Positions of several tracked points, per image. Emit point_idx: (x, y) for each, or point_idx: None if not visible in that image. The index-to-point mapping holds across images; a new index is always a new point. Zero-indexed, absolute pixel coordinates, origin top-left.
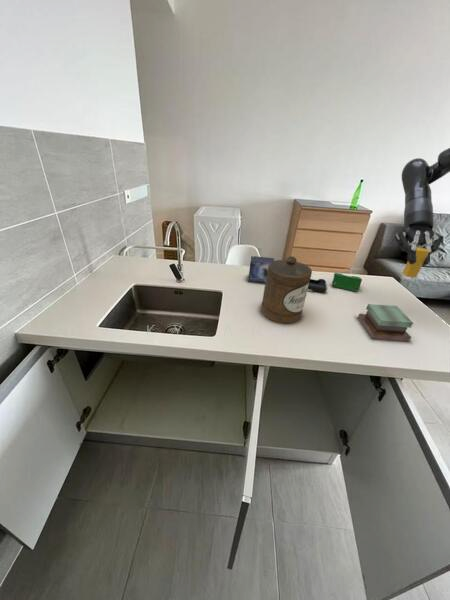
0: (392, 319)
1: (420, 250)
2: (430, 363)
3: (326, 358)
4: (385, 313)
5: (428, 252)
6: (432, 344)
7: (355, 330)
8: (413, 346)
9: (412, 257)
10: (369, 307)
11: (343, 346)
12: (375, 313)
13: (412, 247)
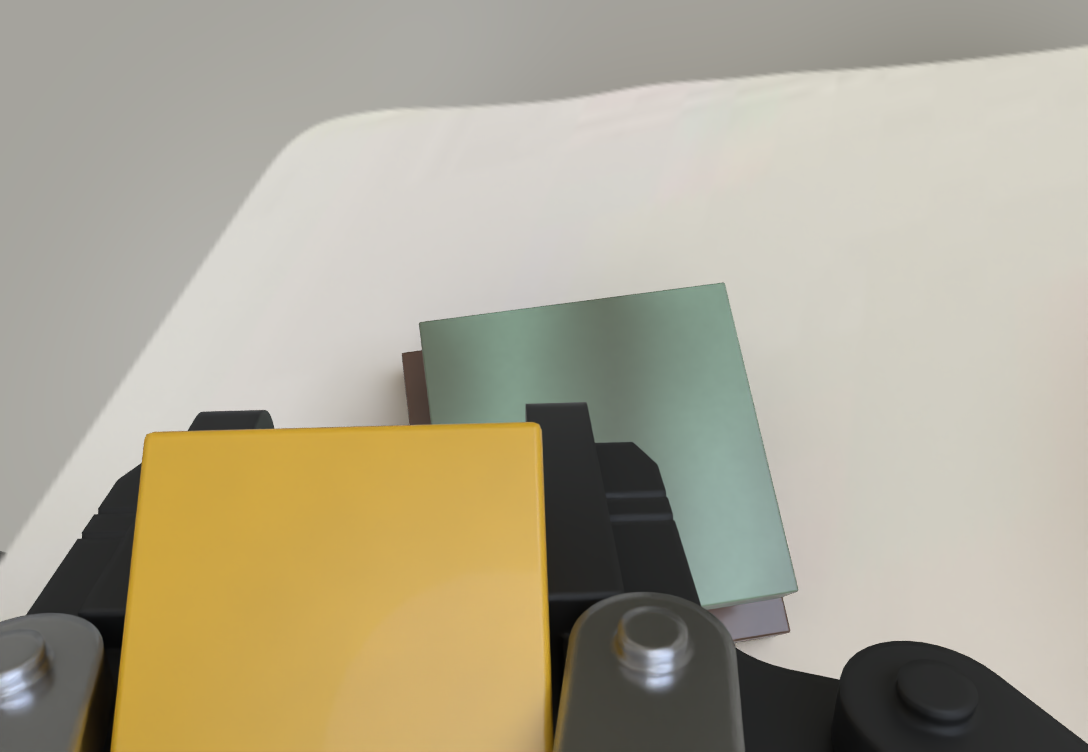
0: (612, 324)
1: (479, 437)
2: (360, 164)
3: (1041, 57)
4: (649, 422)
5: (174, 447)
6: (211, 388)
7: (821, 413)
8: (393, 320)
9: (608, 505)
10: (780, 538)
11: (931, 191)
12: (752, 402)
13: (708, 692)
